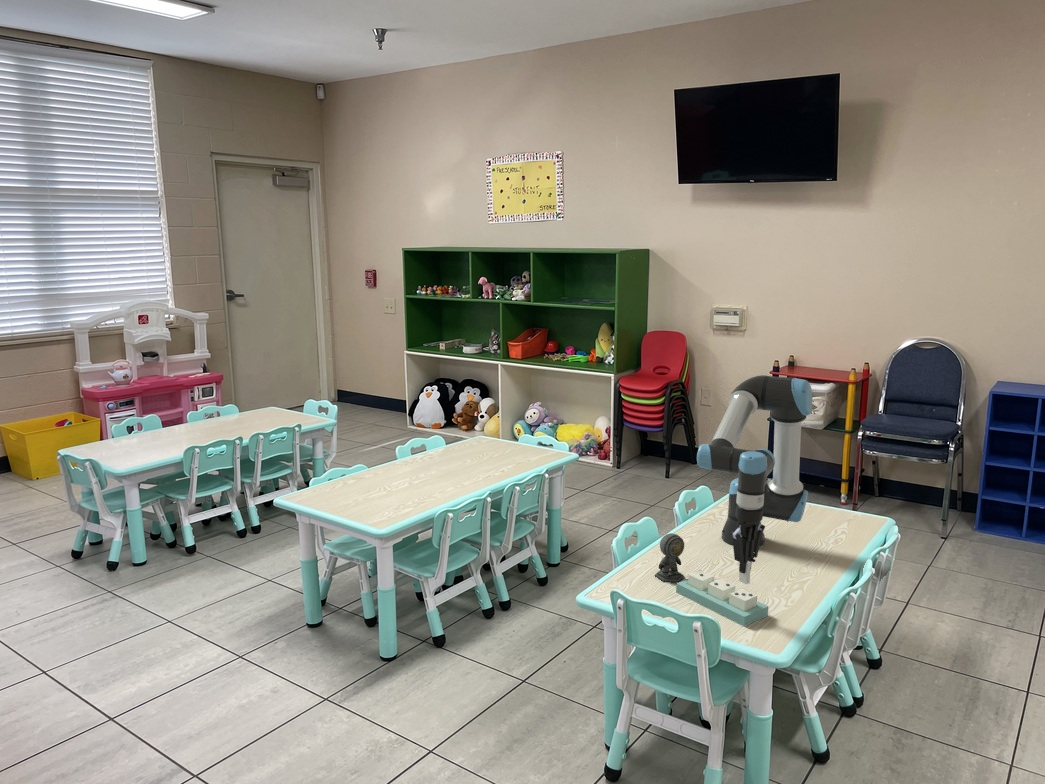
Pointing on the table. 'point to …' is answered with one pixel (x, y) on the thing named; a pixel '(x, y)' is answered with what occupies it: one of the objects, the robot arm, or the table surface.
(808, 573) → the table surface
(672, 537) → the figurine
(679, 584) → the board
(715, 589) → the tile
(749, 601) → the tile
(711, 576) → the tile
